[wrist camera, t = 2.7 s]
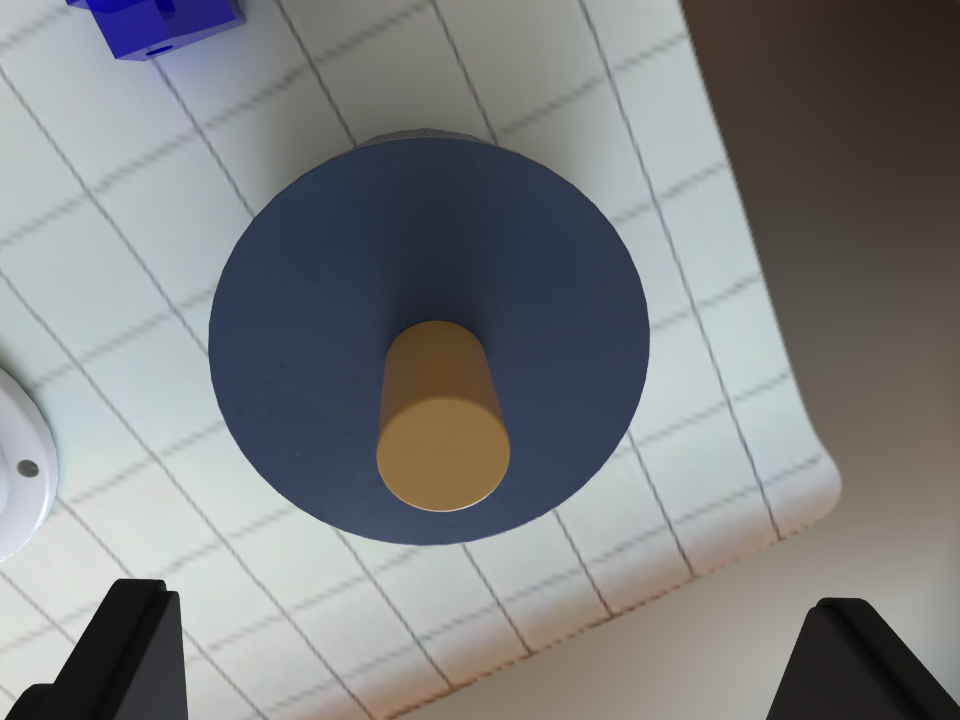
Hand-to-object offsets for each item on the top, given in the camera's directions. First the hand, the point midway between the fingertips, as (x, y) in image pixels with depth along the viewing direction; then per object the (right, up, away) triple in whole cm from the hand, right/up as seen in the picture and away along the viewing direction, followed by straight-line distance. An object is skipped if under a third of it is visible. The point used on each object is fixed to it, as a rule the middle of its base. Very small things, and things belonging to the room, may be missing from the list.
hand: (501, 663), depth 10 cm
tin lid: (-2, +4, +10) cm, 11 cm away
